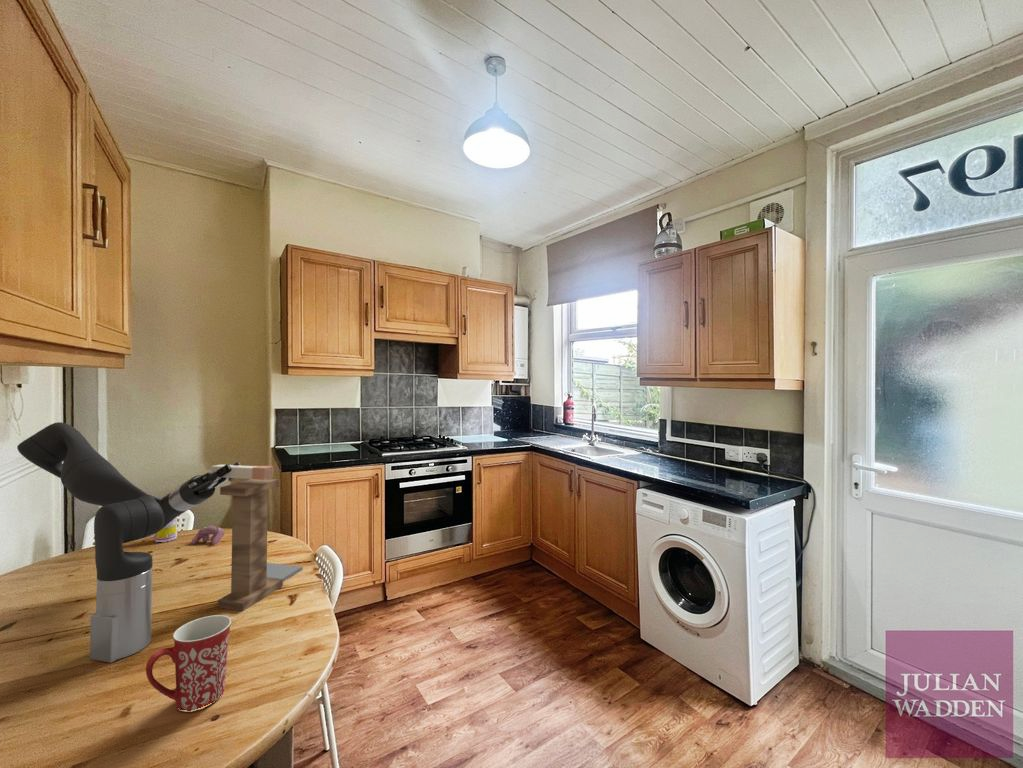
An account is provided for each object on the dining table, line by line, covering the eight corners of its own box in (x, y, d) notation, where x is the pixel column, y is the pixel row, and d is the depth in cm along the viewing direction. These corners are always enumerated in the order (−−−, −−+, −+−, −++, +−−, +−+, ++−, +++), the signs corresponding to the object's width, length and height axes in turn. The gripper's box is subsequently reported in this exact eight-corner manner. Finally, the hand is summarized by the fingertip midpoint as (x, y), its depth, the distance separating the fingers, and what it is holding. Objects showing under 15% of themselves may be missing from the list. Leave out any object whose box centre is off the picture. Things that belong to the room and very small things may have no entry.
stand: (243, 610, 109) (245, 490, 109) (214, 606, 111) (216, 488, 111) (282, 586, 123) (284, 478, 123) (256, 583, 125) (258, 477, 125)
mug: (224, 674, 85) (225, 609, 85) (235, 698, 79) (236, 627, 79) (142, 708, 76) (144, 635, 76) (147, 738, 70) (149, 657, 70)
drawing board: (281, 582, 125) (281, 579, 125) (237, 577, 128) (237, 573, 128) (302, 569, 134) (302, 566, 134) (260, 564, 137) (260, 561, 137)
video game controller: (222, 546, 157) (228, 527, 160) (213, 545, 153) (220, 525, 156) (198, 545, 158) (205, 526, 161) (188, 544, 153) (196, 524, 157)
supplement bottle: (158, 538, 160) (158, 505, 160) (179, 535, 163) (179, 503, 163) (151, 544, 154) (152, 509, 154) (173, 541, 157) (174, 507, 157)
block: (264, 479, 114) (264, 468, 114) (210, 476, 118) (211, 465, 118) (273, 477, 118) (273, 466, 118) (220, 474, 121) (221, 463, 121)
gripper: (162, 487, 115) (207, 458, 112) (208, 477, 129) (249, 451, 126) (173, 511, 114) (218, 483, 111) (218, 498, 128) (260, 472, 125)
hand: (234, 466), depth 118 cm, fingers closed on block, 3 cm apart
